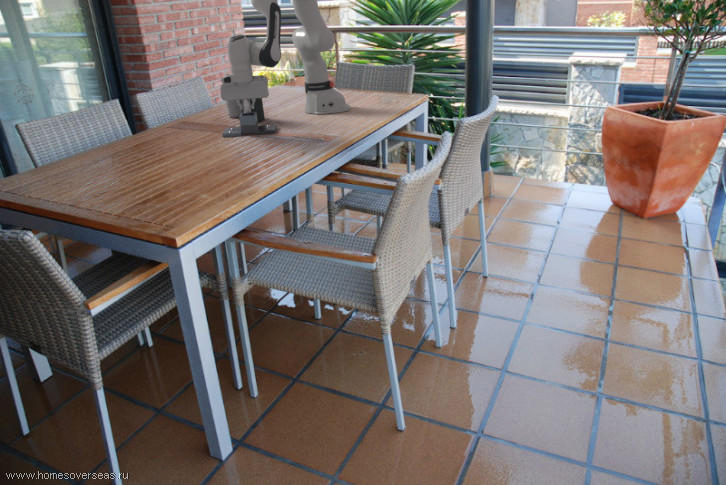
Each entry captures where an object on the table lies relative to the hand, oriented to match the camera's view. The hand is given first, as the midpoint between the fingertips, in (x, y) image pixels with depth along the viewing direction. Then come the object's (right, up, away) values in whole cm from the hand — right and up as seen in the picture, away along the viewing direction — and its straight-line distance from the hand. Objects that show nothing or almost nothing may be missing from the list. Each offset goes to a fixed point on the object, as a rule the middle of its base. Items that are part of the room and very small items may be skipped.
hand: (247, 109), depth 246 cm
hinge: (+1, -9, +4) cm, 10 cm away
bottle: (-2, 0, +24) cm, 24 cm away
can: (-12, +4, +35) cm, 37 cm away
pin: (0, -5, +2) cm, 6 cm away
